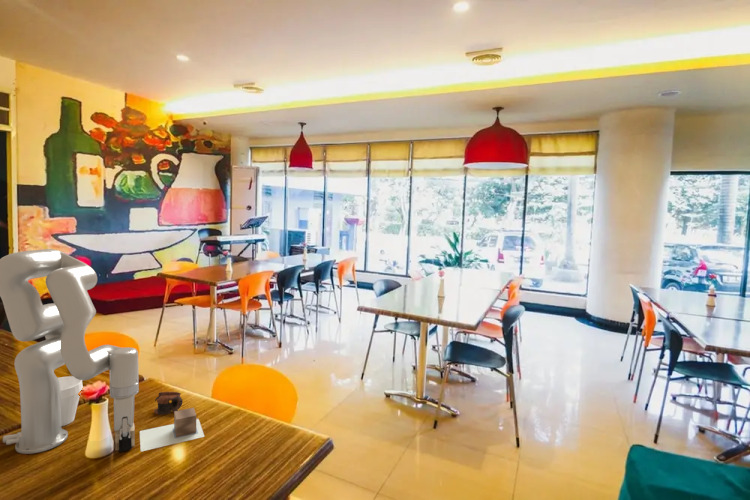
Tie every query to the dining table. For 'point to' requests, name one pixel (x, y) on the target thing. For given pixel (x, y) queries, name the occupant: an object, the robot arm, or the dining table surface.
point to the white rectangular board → (165, 436)
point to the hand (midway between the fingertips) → (125, 443)
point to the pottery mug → (164, 403)
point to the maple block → (117, 433)
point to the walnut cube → (185, 422)
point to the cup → (69, 398)
